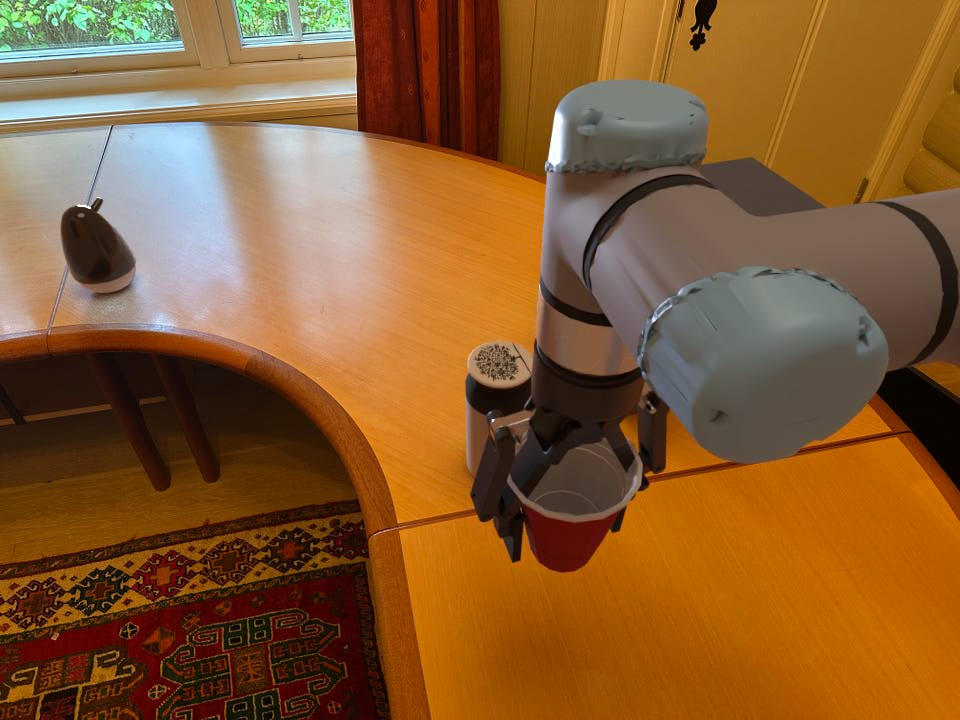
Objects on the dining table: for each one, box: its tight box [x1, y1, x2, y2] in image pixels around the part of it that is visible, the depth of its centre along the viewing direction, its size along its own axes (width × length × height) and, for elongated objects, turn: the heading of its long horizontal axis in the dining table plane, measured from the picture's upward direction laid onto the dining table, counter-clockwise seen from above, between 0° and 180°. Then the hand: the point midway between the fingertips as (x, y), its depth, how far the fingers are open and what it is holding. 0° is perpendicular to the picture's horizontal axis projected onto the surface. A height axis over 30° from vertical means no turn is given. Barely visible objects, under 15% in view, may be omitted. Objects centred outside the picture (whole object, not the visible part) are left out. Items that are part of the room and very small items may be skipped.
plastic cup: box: [507, 429, 643, 574], centre depth 51 cm, size 11×11×12 cm
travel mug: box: [464, 340, 533, 478], centre depth 73 cm, size 8×8×18 cm
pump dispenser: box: [59, 197, 137, 294], centre depth 103 cm, size 10×10×15 cm
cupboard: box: [699, 156, 828, 217], centre depth 86 cm, size 18×26×26 cm
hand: (561, 533), depth 54 cm, fingers closed on plastic cup, 9 cm apart
